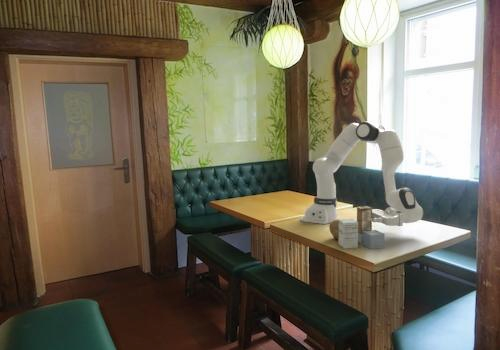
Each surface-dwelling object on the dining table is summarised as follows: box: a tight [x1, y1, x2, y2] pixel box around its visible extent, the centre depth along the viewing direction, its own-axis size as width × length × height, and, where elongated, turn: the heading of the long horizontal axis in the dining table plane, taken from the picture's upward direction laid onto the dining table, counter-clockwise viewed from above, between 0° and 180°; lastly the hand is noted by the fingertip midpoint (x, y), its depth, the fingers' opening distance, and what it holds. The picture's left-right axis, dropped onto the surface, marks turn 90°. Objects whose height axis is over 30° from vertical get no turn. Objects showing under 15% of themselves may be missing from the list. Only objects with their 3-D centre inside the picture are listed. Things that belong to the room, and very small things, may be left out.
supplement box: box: [338, 218, 359, 249], centre depth 184 cm, size 7×7×13 cm
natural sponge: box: [328, 219, 339, 240], centre depth 196 cm, size 9×9×10 cm
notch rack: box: [358, 229, 385, 250], centre depth 188 cm, size 7×16×6 cm, turn 13°
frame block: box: [356, 205, 373, 234], centre depth 191 cm, size 6×4×13 cm
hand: (367, 218), depth 192 cm, fingers open, 8 cm apart
